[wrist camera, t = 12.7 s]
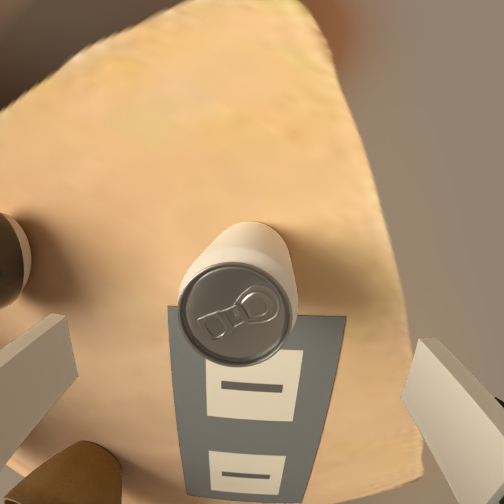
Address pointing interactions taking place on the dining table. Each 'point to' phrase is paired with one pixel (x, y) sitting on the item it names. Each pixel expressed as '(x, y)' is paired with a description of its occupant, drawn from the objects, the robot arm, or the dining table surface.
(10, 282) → the pump dispenser
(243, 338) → the can
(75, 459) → the plant pot
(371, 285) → the dining table surface
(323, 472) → the dining table surface
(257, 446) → the label panel
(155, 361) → the dining table surface
